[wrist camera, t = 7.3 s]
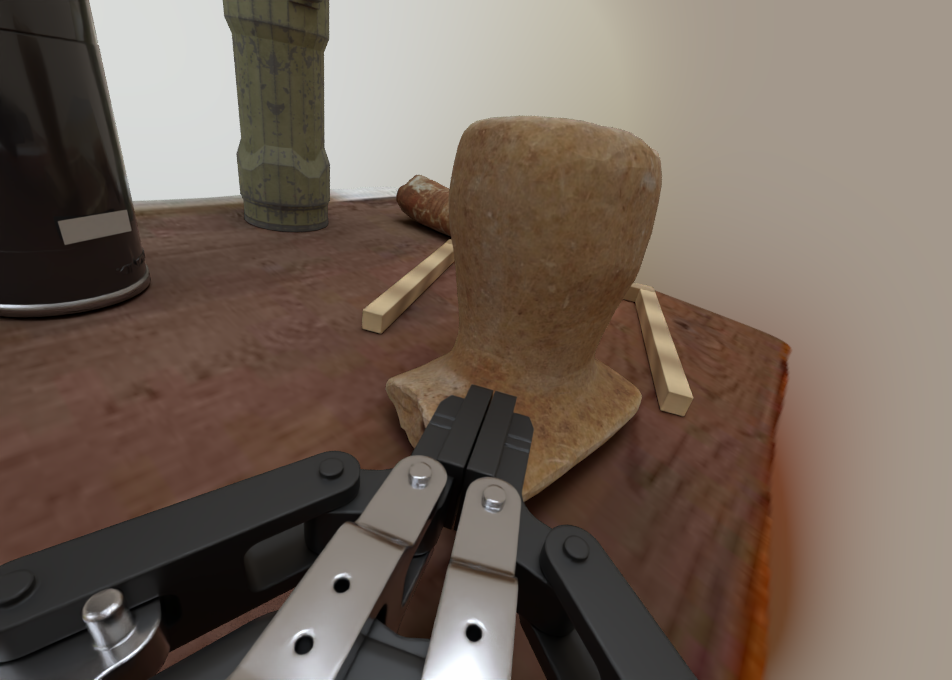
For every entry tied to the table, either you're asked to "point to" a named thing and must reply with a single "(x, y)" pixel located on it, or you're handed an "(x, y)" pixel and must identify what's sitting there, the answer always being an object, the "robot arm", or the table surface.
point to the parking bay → (654, 328)
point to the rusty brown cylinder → (426, 203)
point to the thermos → (281, 111)
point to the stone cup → (541, 280)
